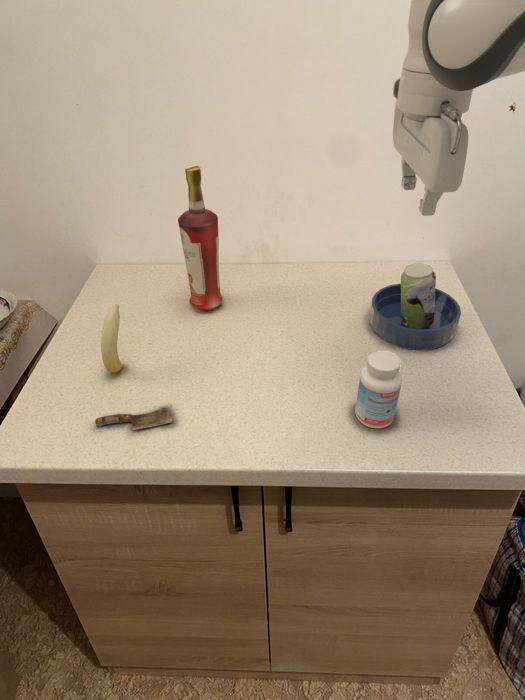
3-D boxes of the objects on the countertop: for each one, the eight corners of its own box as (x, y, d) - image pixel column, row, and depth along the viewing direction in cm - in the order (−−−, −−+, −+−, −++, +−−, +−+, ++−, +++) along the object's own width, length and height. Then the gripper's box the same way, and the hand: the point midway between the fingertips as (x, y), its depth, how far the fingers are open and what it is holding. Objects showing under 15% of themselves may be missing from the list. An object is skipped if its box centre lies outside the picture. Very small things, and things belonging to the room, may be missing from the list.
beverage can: (436, 333, 94) (449, 277, 87) (396, 333, 94) (406, 277, 87) (428, 314, 99) (440, 259, 91) (390, 314, 99) (399, 260, 92)
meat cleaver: (170, 433, 77) (176, 410, 81) (170, 427, 76) (175, 405, 80) (93, 430, 77) (103, 408, 81) (92, 425, 76) (101, 402, 80)
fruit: (95, 380, 84) (110, 384, 83) (98, 312, 79) (114, 316, 79) (111, 366, 89) (125, 370, 89) (115, 302, 84) (129, 306, 84)
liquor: (182, 303, 105) (163, 167, 87) (212, 291, 108) (199, 158, 91) (200, 318, 100) (184, 179, 83) (231, 306, 103) (222, 169, 86)
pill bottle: (365, 433, 76) (374, 378, 69) (348, 406, 80) (355, 351, 73) (401, 425, 77) (414, 369, 70) (383, 398, 82) (393, 343, 75)
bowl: (439, 300, 104) (444, 281, 101) (468, 349, 91) (474, 329, 88) (361, 303, 103) (364, 284, 101) (379, 352, 91) (383, 332, 88)
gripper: (492, 113, 55) (463, 230, 64) (435, 77, 71) (418, 175, 80) (435, 115, 55) (414, 232, 64) (390, 79, 71) (379, 176, 80)
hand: (416, 200), depth 72 cm, fingers open, 8 cm apart
